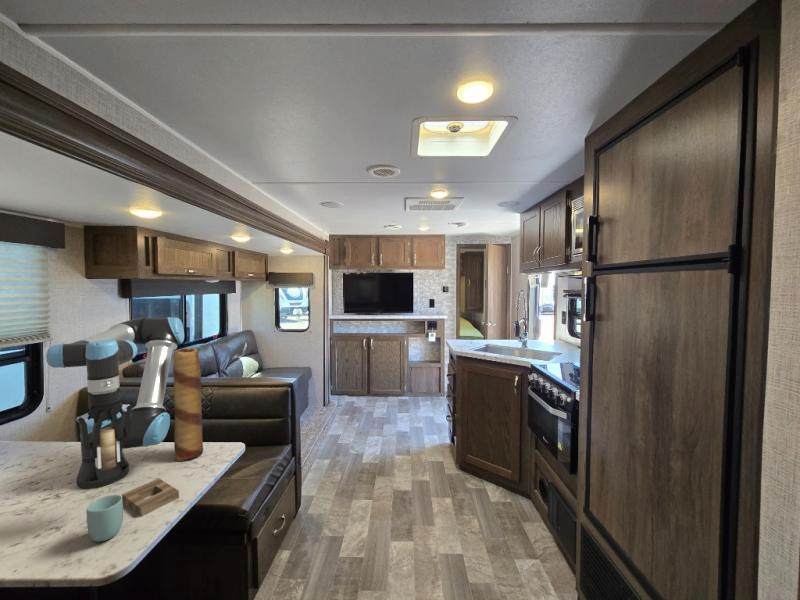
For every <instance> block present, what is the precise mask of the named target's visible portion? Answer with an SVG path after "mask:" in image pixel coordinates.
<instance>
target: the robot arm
mask: <svg viewBox="0 0 800 600" xmlns="http://www.w3.org/2000/svg"><path fill="white" fill-rule="evenodd" d="M184 340H185V329H184V324H183V322H182V320H181V319H180V318H179V317H173V316H172V317H170V316H167V317H138V318H133V319H130V320H126V321H122V322H120V323H117V324H114V325H111V327H110V328H108V329H107V330H105V331H102V332H100V333H99V332H98V333H97V334H95V335H91V336H88V337H85V338H82V339H80V340H77V341H74V342H71V343H60V344H53V345H51V346H50V347H49V348H48V349H47V352H46V354H45V358H46V362H47V365H48V366H49V367H51V368H53V369H55V368H62V369H65V368H75V367H77V368H78V367H86V382H87V383H86V384H87V393H88V394H87V398H88V399H87V400H88V401H87V402H88V409H87V410H86V413H84V414H82V415H77V416H76V417H75V421H77V423H78V424H79V433H80V434H79V437H80V438H79V439H80V453H81V465H80V467H79V470H78V473H77V476H76V478H75V480H76V481H75V482H76V487H77V488H79V489H82V490H88V489H97V488H101V487H102V488H103V487H105V486H108V485H111V484H113V483H116V482H117V481H119V480H121V479H123V478H124V477H126V476H127V475H128V474H129V473H130V464H129V463H130V462H128V459H127V457H126V456H125V454H124V450H123V449H126V450H127V449H133V448H141V447H142V448H143V447H145V448H146V447H152V446H156V445H159V444H161V443H162V442H163V441H164V440H165V438H166V437H167V434H168V431H169V429H170V427H171V426H170V425H171V415H170V414H169V413H168V412H167V409H166V407H165V406H164V405H163V404H164V399H165V394H166V388H167V384H168V383H167V382H168V377H169V373H170V372H169V371H170V366H171V365H170V364H171V362H172V361H171V360H172V357H173V356H172V355H173V352H175V351H176V350H178V349H177V348H178V346H179V345H178V344H182V343H183V342H184ZM137 345H141V346H142V345H145V346H144V347H145V348H146V349H147V355H146V360H145V363H144V370H143V375H142V378H141V383H140V387H139V392H138V397H137V401H136V405H135V406H132V405H131V404H130V403H126V404H123V403H122V402H121V390H120V365H123V364H126V363H129V362H130V361H132V359H134V358H135V357H136V356H137V354H138V346H137ZM120 411H122V413H121V412H120ZM89 417H90V418H89ZM109 427H113V428H114V429H115V448H116V467H114V468H112V469H110V470H106V471H100V468H101V449H100V447H99V446H98V439H99V434H100V430H101V429H104V428H109Z"/></svg>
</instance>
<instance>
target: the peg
mask: <svg viewBox="0 0 800 600" xmlns="http://www.w3.org/2000/svg"><path fill="white" fill-rule="evenodd" d="M98 446H99V447H100V449H101V468H100V471H106V470H110V469H112V468H114V467H116V448H115V429H114V428H113V427H109V428H104V429H101V430H100V434H99V439H98Z"/></svg>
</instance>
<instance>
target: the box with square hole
mask: <svg viewBox="0 0 800 600" xmlns="http://www.w3.org/2000/svg"><path fill="white" fill-rule="evenodd" d="M121 497H122V500H123V504H125V505H126V504H127V505H126V506H128V507H129V508H130V507H131V508H130V509H131V510H133V511H134V512H135V511H136V513H137V514H138V515H139V514H140V515H139V516H140V517H144V516H145V515H148V514H149V513H151V512H153V511H155V510H157V509H159V508H161V507H163V506H165V505H167V504H169V503H171V502H173V501H175V500H177V499H179V498H180V490H179V489H177V488H176V487H174V486H172V485H171V484H169V483H167V482H166V481H164V480H163V479H161V478H156V479H154V480H151V481H149V482H146V483H144V484H143V485H140V486H138V487H136V488H133V489H131V490H128V491H126V492H124V493H122V494H121Z"/></svg>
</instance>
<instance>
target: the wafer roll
mask: <svg viewBox="0 0 800 600" xmlns="http://www.w3.org/2000/svg"><path fill="white" fill-rule="evenodd" d="M200 365H201V364H200V358H199V351H198V350H197V348H196V347H194V348H187V347H186V348H185V347H184V348H179V349H175V350H174V351H173V366H172V373H173V374H172V375H173V413H174V415H173V416H174V440H173V441H174V443H173V444H174V447H173V448H174V458H175V460H177V461H178V462H179V461H180V462H182V461H188V460H193V459H194V458H197V457H199V456H201V455H202V454H203V452H204V444H203V443H204V442H203V414H202V406H203V405H202V374H201V373H202V371H201V370H202V369H201V366H200Z"/></svg>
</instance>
